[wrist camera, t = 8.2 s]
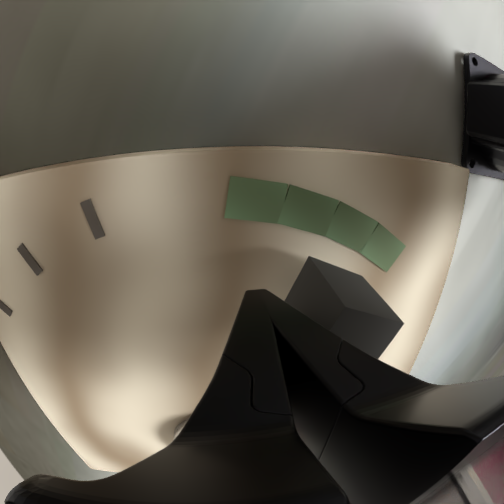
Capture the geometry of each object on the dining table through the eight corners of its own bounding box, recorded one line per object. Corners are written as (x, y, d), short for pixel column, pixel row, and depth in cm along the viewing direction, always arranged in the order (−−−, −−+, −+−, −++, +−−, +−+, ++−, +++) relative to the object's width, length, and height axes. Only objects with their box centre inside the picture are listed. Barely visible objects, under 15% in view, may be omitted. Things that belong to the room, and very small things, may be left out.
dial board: (448, 162, 12) (471, 169, 10) (362, 433, 21) (368, 447, 20) (-30, 184, 9) (-50, 194, 7) (93, 454, 18) (90, 469, 16)
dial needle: (240, 456, 16) (248, 503, 13) (165, 446, 15) (165, 498, 12) (375, 275, 12) (427, 329, 8) (268, 233, 10) (302, 294, 7)
